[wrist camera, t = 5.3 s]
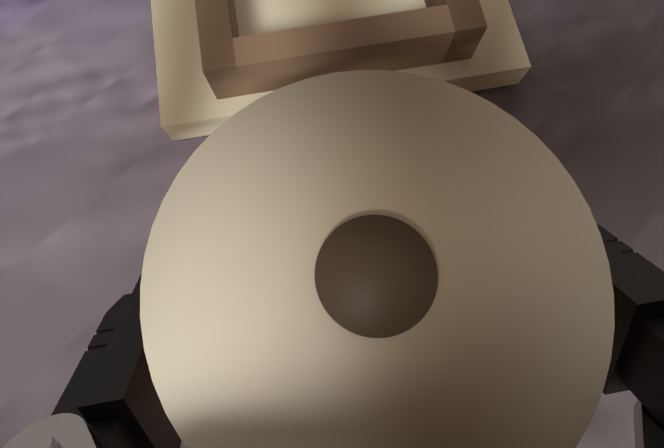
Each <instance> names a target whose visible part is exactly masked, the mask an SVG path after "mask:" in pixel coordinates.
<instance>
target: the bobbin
mask: <svg viewBox="0 0 664 448" xmlns="http://www.w3.org/2000/svg"><path fill="white" fill-rule="evenodd" d="M140 322H141V330H142V338H143V346H144V352H145V356H146V359H147V363H148V367H149V371H150V375H151V378H152V382H153V384H154V387H155V389H156V392H157V394H158V397H159V399H160V401H161V404H162V406H163V409H164V411H165V413H166V415H167V417H168V418H169V420H170V422H171V424H172V425H173V427H174V429H175V430H176V432H177V434H178V436H179V437H180V439H181V441H182V442H183V444H184V445H185V446H186V447H187V448H575V447H576V446H577V444H578V442H579V441H580V439H581V437H582V435H583V434H584V432H585V430H586V429H587V427H588V425H589V423H590V422H591V419H592V417H593V414H594V412H595V410H596V407H597V405H598V402H599V400H600V397H601V395H602V392H603V389H604V385H605V381H606V377H607V373H608V369H609V365H610V362H611V356H612V347H613V338H614V329H615V318H614V292H613V285H612V279H611V272H610V266H609V261H608V258H607V254H606V251H605V247H604V244H603V240H602V237H601V234H600V231H599V229H598V227H597V224H596V222H595V220H594V217H593V215H592V212H591V210H590V208H589V206H588V204H587V202H586V200H585V199H584V197H583V195H582V194H581V192H580V190H579V188H578V187H577V185H576V183H575V181H574V180H573V178H572V177H571V176H570V174H569V173H568V172H567V170H566V169H565V168H564V166H563V165H562V164H561V162H560V161H559V160H558V158H557V157H556V156H555V155H554V154H553V153H552V152H551V151H550V150H549V149H548V148H547V146H546V145H545V144H544V143H543V142H542V141H541V140H540V139H539V138H538V137H537V136H536V135H535V134H534V133H532V132H531V131H530V130H529V129H528V128H526V127H525V126H524V125H523V124H522V123H520V122H519V121H518V120H517V119H516V118H514V117H513V116H511V115H510V114H508V113H507V112H505V111H504V110H502V109H501V108H499V107H498V106H496V105H495V104H493V103H492V102H490V101H488V100H486V99H484V98H482V97H480V96H478V95H476V94H474V93H472V92H470V91H468V90H466V89H463V88H461V87H458V86H455V85H453V84H450V83H447V82H444V81H442V80H438V79H434V78H430V77H426V76H422V75H418V74H414V73H406V72H398V71H390V70H354V71H344V72H334V73H329V74H325V75H320V76H316V77H311V78H307V79H304V80H301V81H298V82H296V83H293V84H290V85H287V86H284V87H281V88H279V89H277V90H275V91H273V92H271V93H269V94H267V95H265V96H263V97H261V98H259V99H257V100H255V101H254V102H252V103H251V104H249V105H248V106H246V107H244V108H243V109H241V110H240V111H238V112H237V113H235V114H234V115H233V116H231V117H230V118H229V119H228V120H227V121H225V122H224V123H223V124H222V125H221V126H219V127H218V128H217V129H216V130H214V131H213V132H212V133H211V134H210V136H209V137H208V138H207V139H206V140H205V141H204V142H203V143H202V144H201V145H200V146H199V147H198V148H197V149H196V150H195V151H194V153H193V154H192V155H191V157H190V158H189V159H188V161H187V162H186V163H185V165H184V166H183V167H182V169H181V170H180V172H179V173H178V174H177V176H176V178H175V180H174V181H173V183H172V185H171V187H170V188H169V190H168V192H167V194H166V195H165V197H164V199H163V201H162V204H161V206H160V209H159V211H158V213H157V216H156V218H155V221H154V223H153V226H152V229H151V233H150V236H149V240H148V244H147V247H146V251H145V255H144V262H143V269H142V276H141V284H140Z"/></svg>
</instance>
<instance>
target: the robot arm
mask: <svg viewBox="0 0 664 448" xmlns="http://www.w3.org/2000/svg"><path fill="white" fill-rule="evenodd" d="M597 227H598V229H599V231H600V234H601V237H602V240H603V244H604V247H605V251H606V254H607V258H608V261H609V266H610V272H611V279H612V285H613V292H614V318H615V329H614V338H613V347H612V356H611V362H610V365H609V369H608V373H607V377H606V381H605V385H604V389H603V393H604V394H605V395H606V394H611V393H616V392H621V391H626V390H630V391H631V392H632V393H633V394H634V395H635V396H636V397H637V398H638V399H637V401H636V404H635V406H634V429H635V448H664V272H663V271H662V270H661V269H659V268H658V267H656V266H655V265H654V264H652V263H651V262H650V261H648V260H647V259H645V258H644V257H643V256H641V255H640V254H638V253H634V252H633V249H631V248H630V247H629V246H627V245H626V244H625V243H623V242H622V241H620V242H619V241H618V238H616V237H615V236H613V235H612V234H611V233H609V232H608V231H607V230H605V229H604V228H602V227H601V226H600V225H597ZM141 276H142V274H141ZM141 276H140V278H139V280H138V282H137V284H136V286H135V288H134V290H133V292H132V294H127V295H123V296H122V297H121V298H120V299H119V300H118V301H117V302H116V303H115V304H114V305H113V306H112V307H111V308H110V309H109V310H108V311H107V312H106V314H105V316H104V318H103V320H102V321H101V323H100V325H99V327H98V329H97V331H96V332H97V335H94V336H93V338H92V340H91V342H90V344H89V346H88V351H86V352H85V353H84V355H83V357H82V359H81V361H80V362H79V364H78V366H77V368H76V370H75V372H74V374H73V376H72V377H71V379H70V381H69V383H68V385H67V387H66V389H65V390H64V392H63V394H62V396H61V398H60V400H59V402H58V403H57V405H56V407H55V409H54V411H53V413H52V415H51V416H49V417H46V418H44V419H42V420H39V421H37V422H35V423H34V424H32V425H30V426H28V427H27V428H25V429H24V430H23V431H21V432H20V433H18V434H17V435H16V436H15V437H14V438H12V439H11V440H10V441H9V442H8V443H7V444H6V445H5V446H4V447H3V448H180V445H181V439H180V437H179V436H178V434H177V432H176V430H175V429H174V427H173V425H172V424H171V422H170V420H169V418H168V417H167V415H166V413H165V411H164V409H163V406H162V404H161V401H160V399H159V397H158V394H157V392H156V389H155V387H154V384H153V382H152V378H151V375H150V371H149V367H148V363H147V359H146V356H145V352H144V346H143V338H142V330H141V322H140V284H141Z"/></svg>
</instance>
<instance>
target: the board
mask: <svg viewBox="0 0 664 448" xmlns="http://www.w3.org/2000/svg"><path fill="white" fill-rule="evenodd" d="M151 10H152V22H153V35H154V47H155V59H156V72H157V84H158V97H159V109H160V122H161V128H162V129H163V130H164V131H165V132H166V133H167V135H168V136H169V137H170V138H171V139H172V140H173V141H176V140H182V139H188V138H194V137H200V136H206V135H210V134H211V133H212V132H213V131H214V130H216V129H217V128H218V127H219V126H221V125H222V124H223V123H224V122H225V121H227V120H228V119H229V118H230V117H231V116H233V115H234V114H235V113H237V112H238V111H240V110H241V109H243V108H244V107H246V106H248V105H249V104H251V103H252V102H254V101H255V100H257V99H259V98H261V97H263V96H265V95H267V94H269V93H271V92H273V91H275V90H277V89H279V88H281V87H284V86H287V85H290V84H293V83H296V82H298V81H301V80H304V79H307V78H311V77H316V76H320V75H325V74H329V73H334V72H344V71H354V70H390V71H398V72H406V73H414V74H418V75H422V76H426V77H430V78H434V79H438V80H442V81H444V82H447V83H450V84H453V85H455V86H458V87H461V88H463V89H466V90H468V91H470V92H472V91H478V90H484V89H490V88H497V87H503V86H509V85H515V84H518V83H519V82H520V81H521V79H522V78H523V77H524V75H525V74H526V73H527V72H528V70H529V69H530V68H531V64H530V61H529V58H528V55H527V53H526V50H525V47H524V44H523V41H522V38H521V35H520V32H519V30H518V27H517V24H516V21H515V18H514V15H513V12H512V9H511V7H510V4H509V1H508V0H151Z"/></svg>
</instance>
